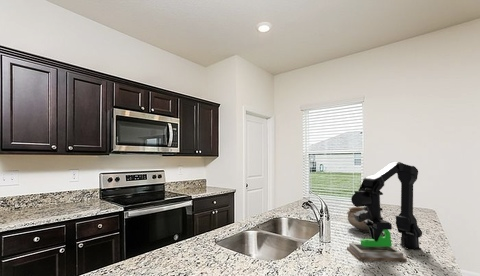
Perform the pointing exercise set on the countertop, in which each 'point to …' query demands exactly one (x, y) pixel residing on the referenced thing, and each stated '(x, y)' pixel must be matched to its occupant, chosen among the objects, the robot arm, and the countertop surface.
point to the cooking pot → (353, 222)
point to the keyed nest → (375, 253)
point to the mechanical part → (378, 241)
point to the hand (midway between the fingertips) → (374, 240)
